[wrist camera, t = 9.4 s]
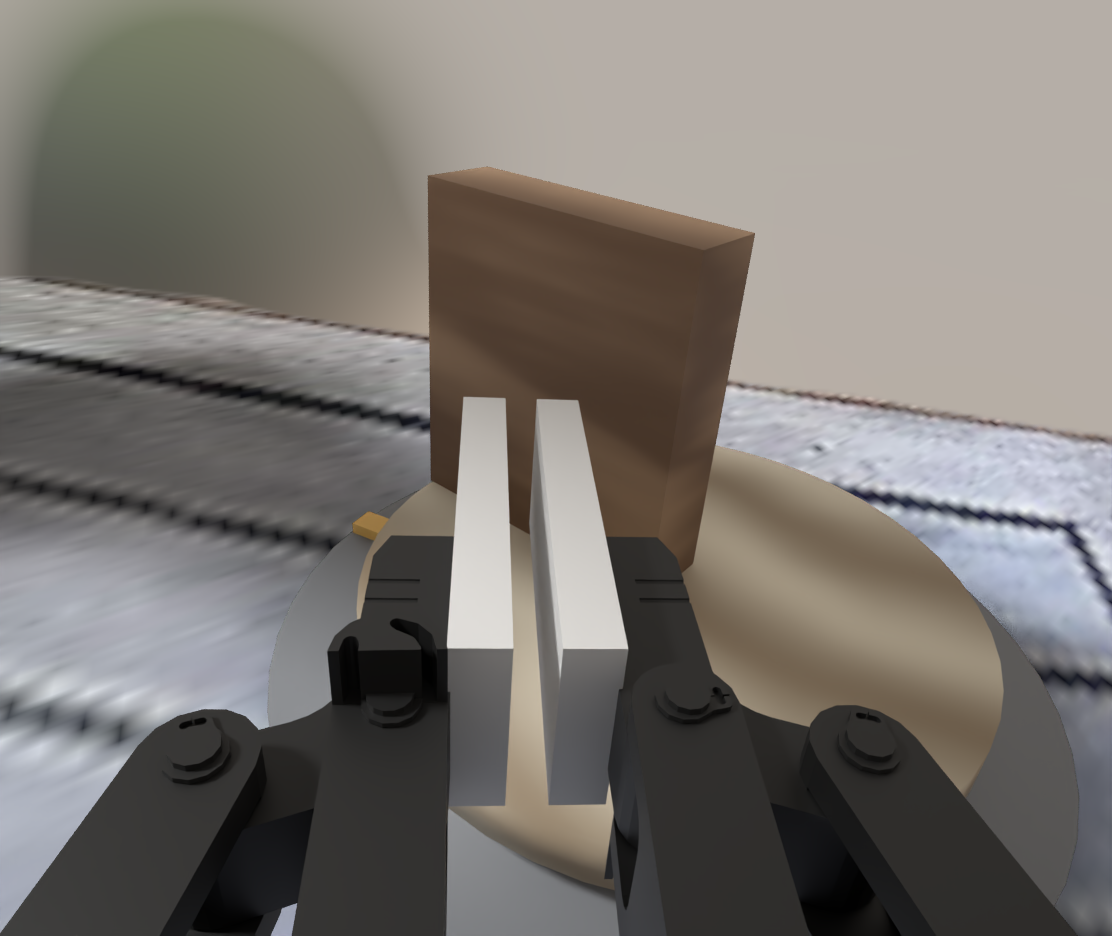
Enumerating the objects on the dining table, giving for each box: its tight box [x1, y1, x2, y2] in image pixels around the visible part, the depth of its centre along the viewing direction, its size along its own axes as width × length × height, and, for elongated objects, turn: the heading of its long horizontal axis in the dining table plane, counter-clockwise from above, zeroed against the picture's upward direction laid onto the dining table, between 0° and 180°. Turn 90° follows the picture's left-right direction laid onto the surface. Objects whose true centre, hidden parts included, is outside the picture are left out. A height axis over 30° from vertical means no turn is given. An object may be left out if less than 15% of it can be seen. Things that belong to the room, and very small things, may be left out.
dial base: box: [267, 490, 1079, 936], centre depth 26 cm, size 23×23×2 cm
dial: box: [357, 167, 1004, 890], centre depth 22 cm, size 18×18×12 cm
